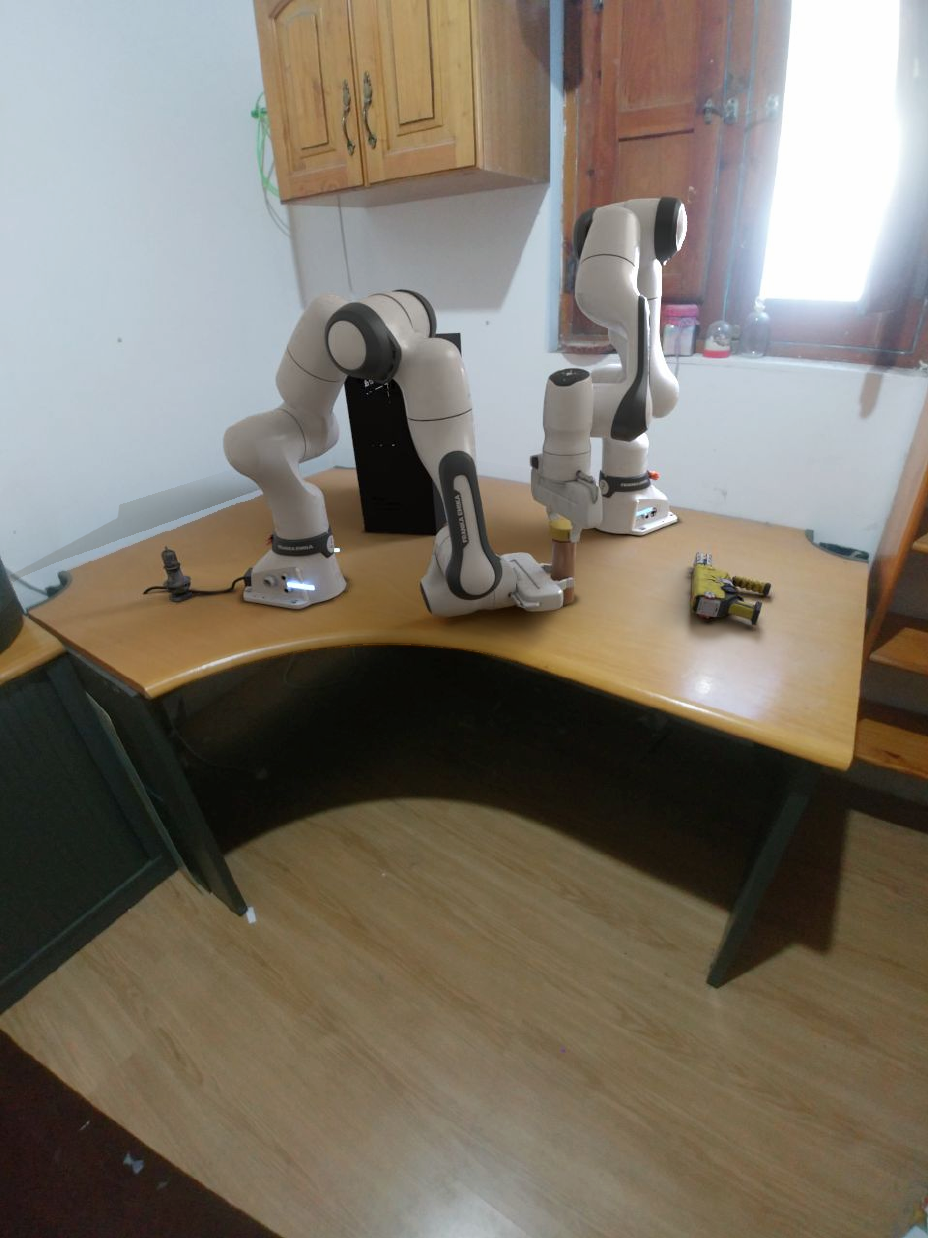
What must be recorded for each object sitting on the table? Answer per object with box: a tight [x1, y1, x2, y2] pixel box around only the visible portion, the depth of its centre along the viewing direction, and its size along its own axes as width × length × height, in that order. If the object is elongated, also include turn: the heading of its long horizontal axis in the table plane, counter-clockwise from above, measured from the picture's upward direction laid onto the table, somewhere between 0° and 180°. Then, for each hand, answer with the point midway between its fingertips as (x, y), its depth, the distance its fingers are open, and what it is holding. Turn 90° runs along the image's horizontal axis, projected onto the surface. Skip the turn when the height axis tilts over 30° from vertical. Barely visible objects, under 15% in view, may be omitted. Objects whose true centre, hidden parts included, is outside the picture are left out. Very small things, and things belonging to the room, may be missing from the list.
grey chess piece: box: [160, 546, 195, 602], centre depth 132 cm, size 6×6×12 cm
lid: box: [548, 518, 572, 541], centre depth 117 cm, size 6×6×2 cm
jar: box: [550, 537, 577, 606], centre depth 121 cm, size 5×5×16 cm
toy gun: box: [690, 551, 772, 626], centre depth 121 cm, size 5×24×15 cm
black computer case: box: [343, 332, 463, 535], centre depth 166 cm, size 38×20×45 cm, turn 167°
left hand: (566, 574), depth 123 cm, fingers closed on jar, 5 cm apart
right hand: (563, 534), depth 118 cm, fingers closed on lid, 5 cm apart
